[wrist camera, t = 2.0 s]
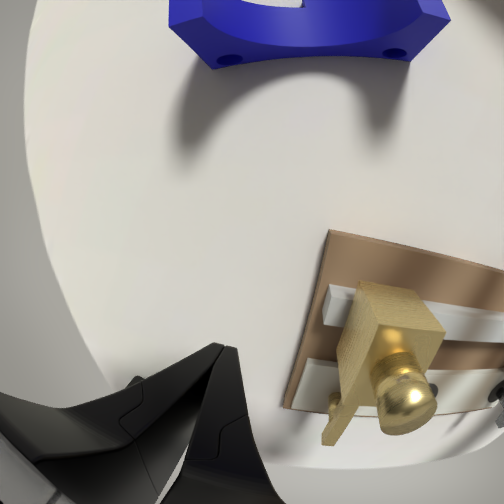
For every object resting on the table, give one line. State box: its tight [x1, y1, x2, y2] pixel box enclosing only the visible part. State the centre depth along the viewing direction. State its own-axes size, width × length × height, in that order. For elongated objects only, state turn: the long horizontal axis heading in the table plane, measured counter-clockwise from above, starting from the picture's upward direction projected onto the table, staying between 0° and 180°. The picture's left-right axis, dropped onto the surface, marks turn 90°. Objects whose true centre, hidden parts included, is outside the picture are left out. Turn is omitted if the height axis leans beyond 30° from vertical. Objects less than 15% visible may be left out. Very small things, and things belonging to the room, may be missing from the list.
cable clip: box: [169, 0, 451, 70], centre depth 9 cm, size 12×4×6 cm, turn 95°
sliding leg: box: [322, 280, 446, 446], centre depth 11 cm, size 3×10×7 cm, turn 172°
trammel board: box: [283, 229, 504, 417], centre depth 14 cm, size 22×13×3 cm, turn 82°
